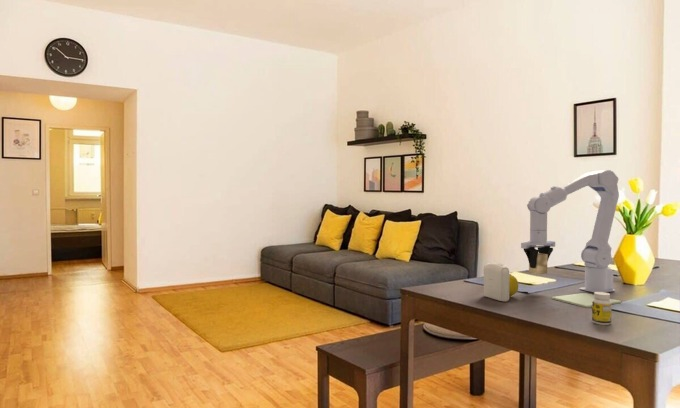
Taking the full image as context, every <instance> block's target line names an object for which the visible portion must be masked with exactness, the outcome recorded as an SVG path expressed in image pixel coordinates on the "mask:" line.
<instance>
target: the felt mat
mask: <svg viewBox="0 0 680 408" xmlns="http://www.w3.org/2000/svg"><path fill="white" fill-rule="evenodd" d="M593 299H595V298H594V294H592V293H588V292H581V293H573V294H564V295H558V296H557V295H555V296H551V300H555V301H559V302H563V303H567V304H571V305H574V306H578V307H582V308H586V309H588V308H589V309H590V308H592V302H593ZM609 300H610V301H611V305H616V304H622V301H621V300H618V299H614V298H610V299H609Z"/></svg>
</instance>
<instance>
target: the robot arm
mask: <svg viewBox="0 0 680 408" xmlns="http://www.w3.org/2000/svg"><path fill="white" fill-rule="evenodd" d="M618 182H619V177H618V176H617V174H616V173H615V172H614V171H612V170H610V169H606V170H605V169H604V170H590V171H588V172H586V173H584V174H582V175H581V176H579V177H577V178H576V179H574V180H572V181H570V182H569V183H567V184H565V185H564V186H556V185H555V186H551V187H550V189H549V190H547V191H545V192H540V193H539V196H533V197H532V198H530V199H529V201H528V203H527V204H526V207H527V209H528V211H529V220H530V221H529V222H530V223H529V225H530V226H529V241H526V242H520V249H523V252H524V253H525V255H526V258H527V260H528V266H529V265H530V268H536V263H537V255H538V253H543V254H548V259H547V263H548V261H549V258H550V256H551V254H552V252H553V251H554V247H556V241H555V240H548V212H549V211H550V210H551V208H553V207H555V206H556V205H557V206H558V205H559V204H560V203H562V202H564V201H566V200H567V197H568V195H571V194H573V193H575V192H577V191H580V190H581V189H583V188H585V187H589V188H590V189H592V190H593V191H595V192H596V193H597V194H598V195H599V197H600V201H599V206H598V210H597V212H596V213H597V214H596V217H595V222H594V226H593V230H592V235H591V238H590V240H587V242H586V243H585V246H584V248H583V250H582V251H581V254H580V258H581V260H582V261H583V263H584V287H579V288H578V289H579V290H581V291H586V292H590V293H594V292H605V293H609V292H610V293H611V292H616V289H615V288H614V271H613V270H612V268H611V267H610V266H609V265H610V264H611V262H612V247H611V245H610V244H609V239H610V235H611V230H612V227H613V221H614V219H615V214H616V209H617V206H618V201H619V198H620V193H619V188H618ZM536 248H537V249H536Z"/></svg>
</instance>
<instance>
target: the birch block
mask: <svg viewBox="0 0 680 408" xmlns="http://www.w3.org/2000/svg"><path fill="white" fill-rule="evenodd" d="M547 259H548V254H543V253H539V252H538V255H537V263H536V268H530V265H529V264H528V273H529V274H533V275H534V274H535V275H547V274H548V262H547ZM548 260H549V259H548Z"/></svg>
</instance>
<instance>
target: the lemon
mask: <svg viewBox="0 0 680 408" xmlns="http://www.w3.org/2000/svg"><path fill="white" fill-rule="evenodd" d="M518 290H519V282H518V279H517V277H515V276H514V275H512V274H511V273H509V298H511V297H512V296H513V295H516V293H517V292H518Z"/></svg>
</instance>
